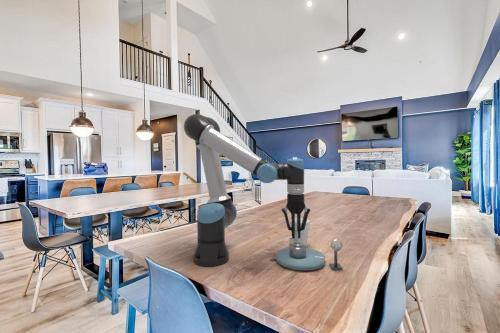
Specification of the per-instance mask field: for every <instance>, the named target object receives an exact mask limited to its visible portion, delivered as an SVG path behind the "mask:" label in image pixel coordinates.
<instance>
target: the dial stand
mask: <svg viewBox="0 0 500 333" xmlns="http://www.w3.org/2000/svg"><path fill="white" fill-rule="evenodd" d="M330 247H331V249H332V250H333V260H334V261H333V263H328V267H329V268H330V269H331V271H343V267H342V265H341V264H340V263H338V252H339V251H341V250H342V249H343V242H342V241H341V240H340V239H337V238H335V239H332V241H331V242H330Z"/></svg>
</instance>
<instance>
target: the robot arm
mask: <svg viewBox="0 0 500 333" xmlns="http://www.w3.org/2000/svg"><path fill="white" fill-rule="evenodd" d="M183 123H184V124H183V130H184V133H185V134H186V136H187V137H188V138H190V139H191V140H193V141H194V143H195V147H196V148H197V149H199V151H200V157H201V162H202V165H203V166H202V167H203V170H204V171H203V173H204V176H205V180H206V186H207V191H208V196H209V197H208V198H209V199H208V200H207V204H202V205H201V206H199V207H198V208H197V213H196V221H197V223H196V224H197V226H196V227H197V244H196V247H195V251H194V253H193V263H194V264H196V265H197V266H200V267H218V266H221V265H223V264H226V263H227V262H228V261H229V259H230V254H229V252H230V251H229V250H228V247H227V243H226V230H225V229H226V228H228V227H229V226H231V225H232V224H233V223H234V222H235V220H236V218H237V214H238V211H237V207H236V206H235V204H234V203H233V202H232V197H231V196H230V195H229V194H228V192H227V187H226V183H225V182H226V181H225V178H224V172H223V166H222V162H221V158H220V155H222V156H224V157H225V158H227V159H229V161H231V162H233V163H234V164H236V165H238V166H239V167H241V168H243V169H244V170H245V171H248V172H249V173H251V174H252V175H253V176H255V177H256V178H257V179H258V180H259V181H260V182H261V183H264V184H270V183H273V182H274V181H286V192H287V194H286V201H287V202H286V205H285V207H282V208H281V211H282V213H283V217H284V219H285V223H286V227H287V230H288V231H290V232H291V238H295V243H298V238H300V232H301V230H304V229H305V225H306V221H307V220H308V216H309V213H310V212H311V209H310V207H308V206H306V204H305V161H304V160H303V159H302V158H288V159H287V160H286V162H285V163H278V162H277V163H275V162H273V163H272V162H271V163H270V162H268V160H265V159H263V158H262V157H261V156H259V155H257V154H255V153H254V152H252V151H250V150H249V149H247V148H246V147H244V146H242V145H241V144H239V143H237V142H236V141H235V140H233V139H231V138H229V137H227V136H226V135H225V134H223V133H221V127H220V124H219V122H217V121H216V120H214V119H213V118H212V117H208V116H205V115H202V114H199V113H193V114H191V115H189V116H187V118H186V119H185V121H184V122H183ZM288 212H289V213H290V215H291V216H290V218H291V219H290V220H291V225H290V220H289V216H288ZM303 212H304V213H303ZM302 213H303V217H302V216H301V215H302ZM295 216H296V217H295ZM295 218H297V230H295ZM300 218H302V219H303V221H302V225H301V224H300Z"/></svg>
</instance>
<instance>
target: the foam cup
mask: <svg viewBox="0 0 500 333" xmlns="http://www.w3.org/2000/svg"><path fill="white" fill-rule="evenodd" d="M302 221H303V217H300V224H301V225H302ZM289 224H290V226H291V219H290V220H289ZM310 226H311V221H310V219H307V221H306V225H305V229H304V230H301V232H300V238H298V243H301V244H303V245H305V246H306V247H307V245H308V240H309V231H310ZM295 230H297V217H295Z"/></svg>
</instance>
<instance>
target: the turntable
mask: <svg viewBox="0 0 500 333" xmlns="http://www.w3.org/2000/svg"><path fill="white" fill-rule="evenodd" d="M288 240H289V242H288V243H289V244H288V245H289V246H290V245H291V244H294V243H295V238H292V237H289V239H288ZM289 246H288V247H285V248H282V249H280V250H278V251H277V252H276V262H277V263H278V264H279V265H281V266H283V267H285V268H287V269H291V270H297V271H313V270H318V269H321V268H322V267H324V266H325V263H326V256H325V254H324V253H322V252H321V251H319V250H315V249H312V248H309V247H306V258H304V259H294V258H291V257H290V256H289Z"/></svg>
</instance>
